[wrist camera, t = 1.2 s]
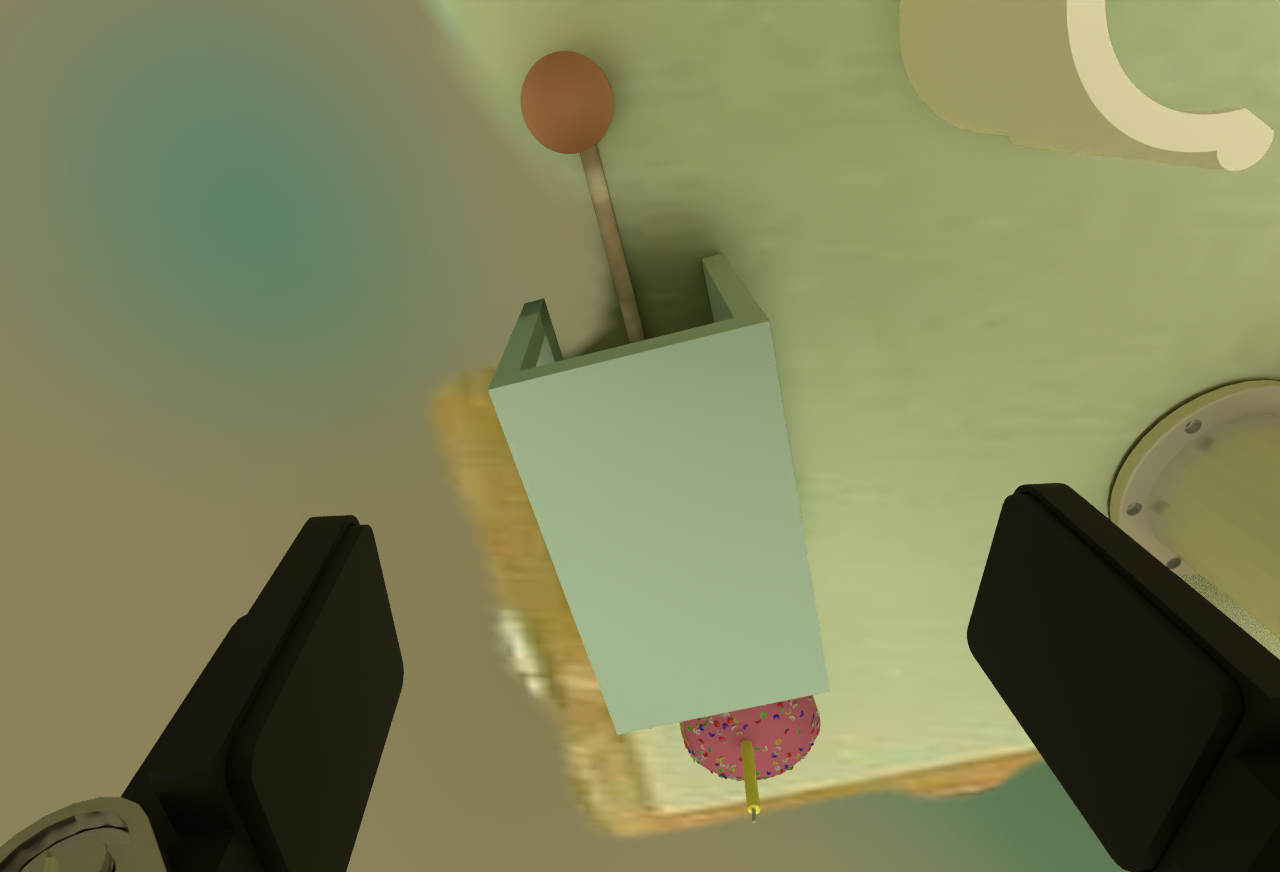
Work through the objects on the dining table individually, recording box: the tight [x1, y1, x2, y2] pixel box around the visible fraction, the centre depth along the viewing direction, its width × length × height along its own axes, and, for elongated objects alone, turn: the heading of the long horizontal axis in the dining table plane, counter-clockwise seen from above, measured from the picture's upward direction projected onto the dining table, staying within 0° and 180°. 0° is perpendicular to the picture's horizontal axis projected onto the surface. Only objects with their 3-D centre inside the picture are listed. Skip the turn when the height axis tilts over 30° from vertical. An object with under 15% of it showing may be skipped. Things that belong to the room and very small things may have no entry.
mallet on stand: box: [521, 51, 645, 344], centre depth 31 cm, size 6×24×7 cm, turn 14°
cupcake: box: [680, 695, 820, 823], centre depth 40 cm, size 9×8×12 cm
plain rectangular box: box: [488, 254, 830, 734], centre depth 32 cm, size 10×18×11 cm, turn 14°
